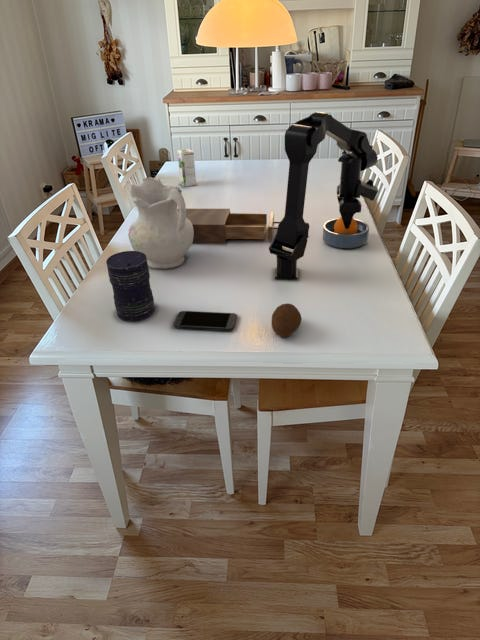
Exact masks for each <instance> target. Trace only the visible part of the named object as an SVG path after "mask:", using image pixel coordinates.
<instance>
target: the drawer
mask: <svg viewBox="0 0 480 640" xmlns="http://www.w3.org/2000/svg"><path fill="white" fill-rule="evenodd" d="M269 213H270V214H269V220H268V213H267V212H230V213H229V216H228V218H227V221H226V224H225V239H227V240H265V237H266V232H267V241H268V242H272V241H273V236H274V230H277V229H278V226H275V224H279V223H280V222H281V221H282V220H275V212H274V211H270V212H269Z"/></svg>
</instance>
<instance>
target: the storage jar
mask: <svg viewBox="0 0 480 640" xmlns="http://www.w3.org/2000/svg"><path fill="white" fill-rule="evenodd" d="M105 263H106V267H107V274H108V278H109V283H110V284H111V287H112V292H113V301H114V302H113V303H114V308H115V310H116V316H117V318H118V319H119V320H121V321H123V322H128V323H135V322H142V321H144V320H147V319H148V318H150V317H152V316H153V315H154V313H155V311H156V308H155V298H154V296H153V289H152V288H151V283H150V275H151V274H150V267H149V266H148V263H147V257H146V255H145V254H144V253H142V252H138V251H134V250H125V251H120V252H116V253H114V254H111V255H110V256H109V257H108V258H107V259H106V260H105Z"/></svg>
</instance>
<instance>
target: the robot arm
mask: <svg viewBox="0 0 480 640" xmlns="http://www.w3.org/2000/svg"><path fill="white" fill-rule="evenodd" d="M326 136H328V137H329V138H331V139H332V140H334V141H335V142H336V146H337V148H339V149H340V150H341V151H345V152H346V153H345V152H343V153H342V155H341V156H339V158H338V159H337V162H338V163H341V166H340V175H339V184H338V185H337V186H336V198H337V203H338V211H339V214H340V218H341V217H342V220H343V223H344V226H345V228H346V229H348V228H349V226H350V224H351V221H352V218H353V219H354V215H355V214H357V213H361V212H362V201H360V200H359V199H360V198H361V197H363V198H365V199H367V200H369V201H375V199H376V197H377V195H378V193H379V189H378V186H376V185H374V180H373V179H371V178H368V179H366V180H365V181H364V180H363V181H362V180H361V172H364V171H365V170H367V169H370V168H373V167H375V166H376V164H377V162H378V154H377V152H376V150H375V149H374V145H373V144H370V141H369V137H368V135H367V133H366V132H365V131H362V130H357V129H351V128H349V127H348V126H347V125H345V124H344V123H342V122H340V121H339V120H338V119H336V118H334V116H333V115H332V114H330V112H329V113H328V112H321V111H315V112H313V113H311V114H310V115H309V116H306V117H305V118H302V119H300V120H297V121H295V122H294V123H293V124H291V125H290V126H289V127H288V128H287V129H286V130H285V132H284V152H285V155H286V156H287V159H288V161H289V163H288V175H287V185H286V186H287V187H286V198H285V206H284V207H285V208H284V210H285V211H284V216H283V217H282V219H281V220H280V221H281V222H280V223H278V225H277V227H278V229H276V233H275V235H274V237H273V238H272V241H271V243H270V245H269V247H268V250H269V251H268V252H269V254H271V255H275V256H276V267H275V270H274V271H275V272H274V280H294V281H295V280H296V281H297V280H298V278H299V268H298V267H297V266H298V260H299V259H301V258H303V257H304V256H305V251H306V248H307V244H308V239H309V237H310V236H309V231H310V223H309V222H306V221H305V219H304V210H305V202H306V193H307V185H308V183H307V182H308V174H309V167H310V166H309V165H310V162H311V161H312V159H313V158H314V156H315V155H316V153H317V151H318V146H319V145H320V144H321V142H323V141H324V140H325V139H326ZM347 152H348V153H347ZM349 152H350V153H349Z"/></svg>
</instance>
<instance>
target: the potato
mask: <svg viewBox="0 0 480 640" xmlns="http://www.w3.org/2000/svg"><path fill="white" fill-rule="evenodd" d="M302 319H303V317H302V314H301V313H300V310H299V309H298V308H297V306H295V305H294V304H293V303H287V302H286V303H282V304H280V305H277V307H276V308H275V309H274V311H273V313H272V315H271V328H272V330H273V332H274V333H275V334H276V335H277V336H278V337H281V338H287V337H289V336H291V335H292V334H293V333H295V332H296V331H297V330H298V329H299V327H300V326H301V323H302Z"/></svg>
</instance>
